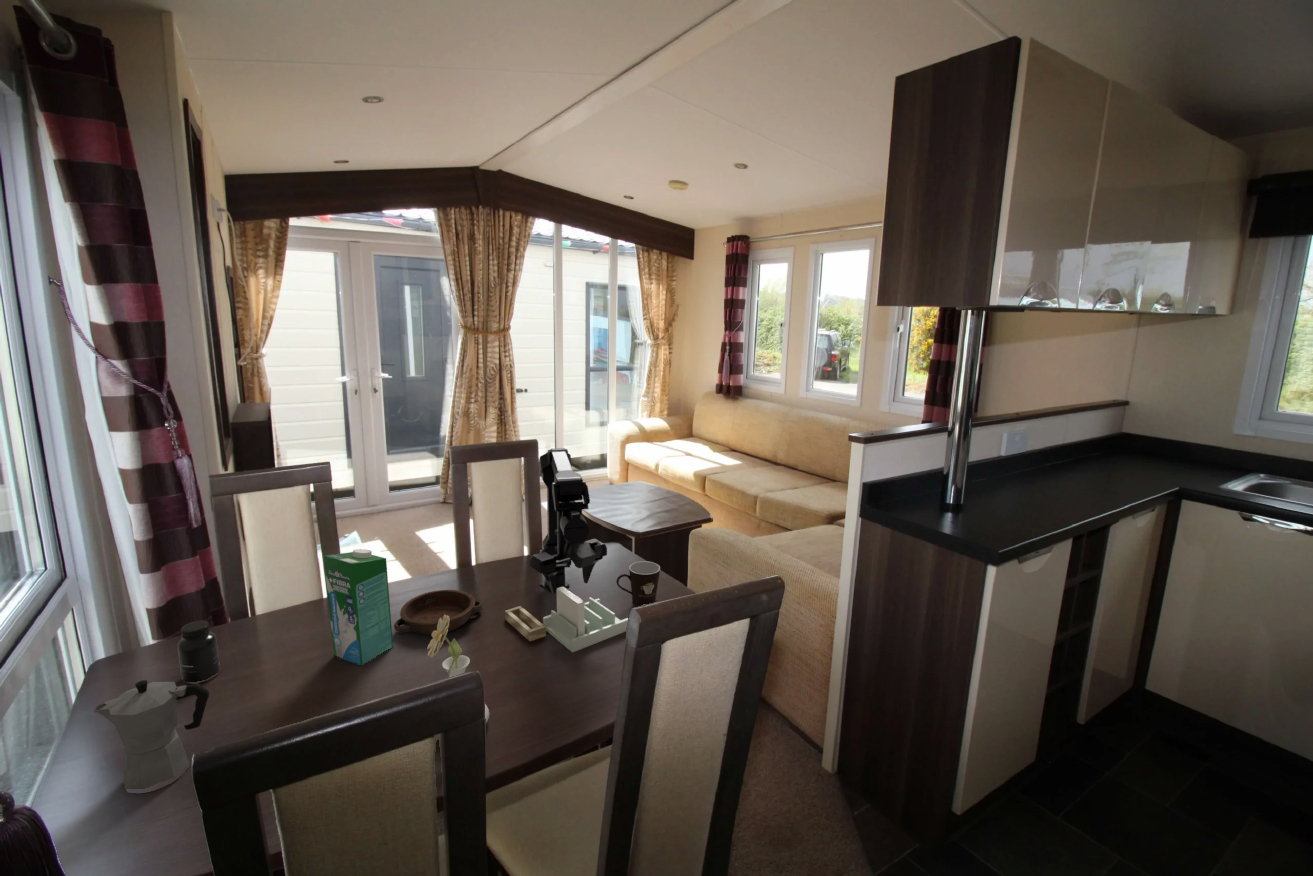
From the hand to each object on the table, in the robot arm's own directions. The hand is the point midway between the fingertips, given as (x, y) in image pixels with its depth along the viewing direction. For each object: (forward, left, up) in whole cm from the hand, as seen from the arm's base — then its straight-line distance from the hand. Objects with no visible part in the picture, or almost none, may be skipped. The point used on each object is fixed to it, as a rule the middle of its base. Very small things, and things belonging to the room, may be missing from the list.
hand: (569, 587), depth 149 cm
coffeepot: (-4, -79, -13) cm, 80 cm away
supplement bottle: (-34, -72, -13) cm, 81 cm away
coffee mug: (-4, +25, -13) cm, 28 cm away
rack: (0, +5, -13) cm, 14 cm away
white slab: (0, 0, -12) cm, 12 cm away
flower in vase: (+16, -35, -13) cm, 41 cm away
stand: (-10, -7, -13) cm, 18 cm away
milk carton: (-23, -42, -13) cm, 50 cm away
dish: (-26, -23, -13) cm, 37 cm away
